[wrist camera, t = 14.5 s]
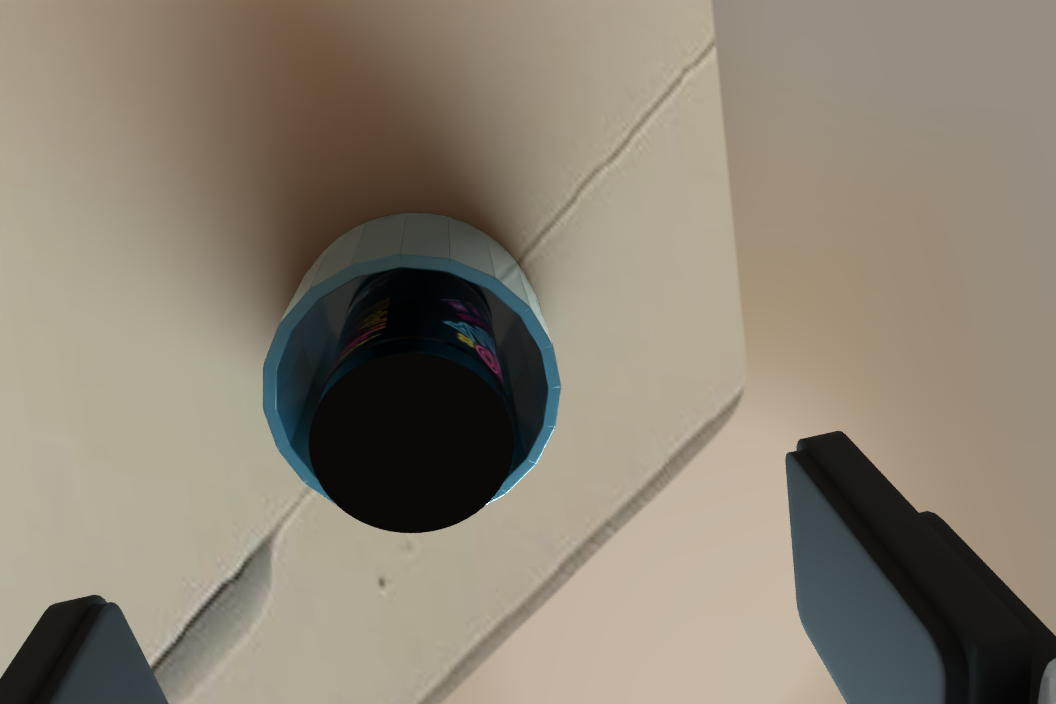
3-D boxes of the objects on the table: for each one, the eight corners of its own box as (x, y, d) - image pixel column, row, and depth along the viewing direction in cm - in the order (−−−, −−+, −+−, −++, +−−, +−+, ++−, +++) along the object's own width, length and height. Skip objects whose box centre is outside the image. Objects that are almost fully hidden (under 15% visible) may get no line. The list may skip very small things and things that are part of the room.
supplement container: (456, 424, 38) (462, 559, 29) (319, 370, 37) (277, 494, 27) (520, 299, 36) (550, 400, 27) (378, 236, 35) (355, 319, 25)
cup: (513, 188, 35) (529, 226, 29) (558, 412, 39) (581, 489, 33) (260, 242, 35) (220, 292, 28) (333, 462, 39) (313, 549, 33)
